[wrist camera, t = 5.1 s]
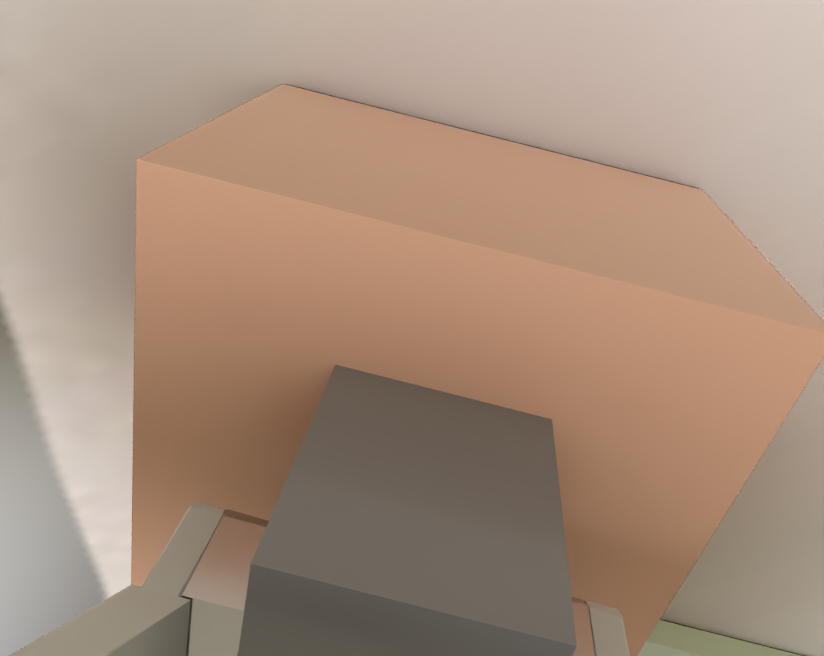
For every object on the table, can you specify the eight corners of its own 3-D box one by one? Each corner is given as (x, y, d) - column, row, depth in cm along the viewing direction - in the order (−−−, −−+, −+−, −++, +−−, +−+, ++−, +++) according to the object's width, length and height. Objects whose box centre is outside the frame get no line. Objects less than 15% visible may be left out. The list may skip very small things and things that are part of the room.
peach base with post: (703, 189, 15) (1042, 560, 6) (562, 502, 20) (617, 986, 11) (282, 84, 15) (-88, 273, 6) (243, 421, 20) (7, 832, 11)
